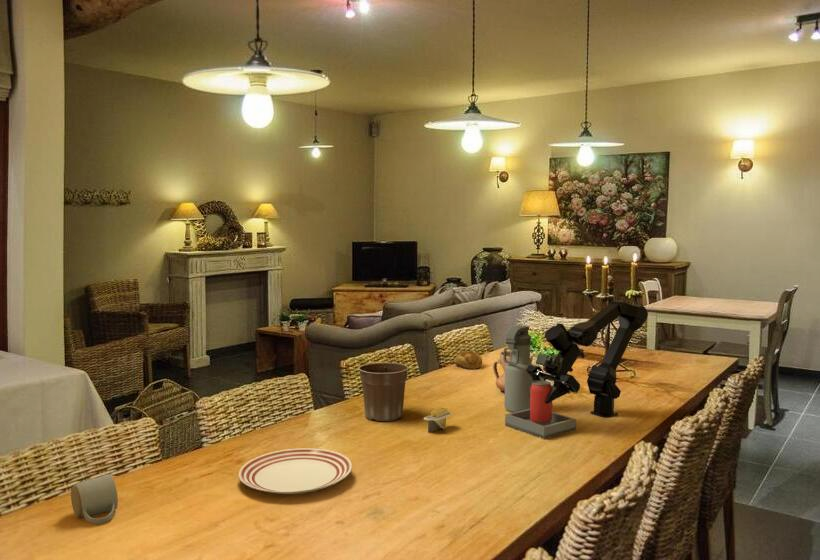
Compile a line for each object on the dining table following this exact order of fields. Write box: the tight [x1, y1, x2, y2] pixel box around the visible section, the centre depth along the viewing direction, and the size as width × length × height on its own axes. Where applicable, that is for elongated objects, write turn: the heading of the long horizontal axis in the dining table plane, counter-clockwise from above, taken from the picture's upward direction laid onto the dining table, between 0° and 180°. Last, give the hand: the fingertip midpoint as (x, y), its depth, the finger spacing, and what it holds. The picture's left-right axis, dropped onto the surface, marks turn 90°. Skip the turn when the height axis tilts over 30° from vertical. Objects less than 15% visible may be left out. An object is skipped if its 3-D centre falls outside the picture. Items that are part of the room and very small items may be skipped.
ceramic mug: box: [70, 473, 119, 525], centre depth 148 cm, size 11×8×8 cm
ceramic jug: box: [492, 350, 538, 393], centre depth 253 cm, size 18×14×14 cm
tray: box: [504, 409, 577, 440], centre depth 210 cm, size 14×16×4 cm
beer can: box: [530, 380, 553, 424], centre depth 209 cm, size 7×7×12 cm
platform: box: [423, 407, 452, 433], centre depth 207 cm, size 12×18×7 cm, turn 140°
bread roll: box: [453, 350, 483, 370], centre depth 293 cm, size 13×10×8 cm
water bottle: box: [503, 324, 533, 413], centre depth 228 cm, size 10×10×28 cm
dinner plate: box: [238, 447, 353, 495], centre depth 169 cm, size 27×27×3 cm
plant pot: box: [357, 362, 410, 422], centre depth 221 cm, size 16×16×16 cm
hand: (537, 400), depth 209 cm, fingers closed on beer can, 6 cm apart
